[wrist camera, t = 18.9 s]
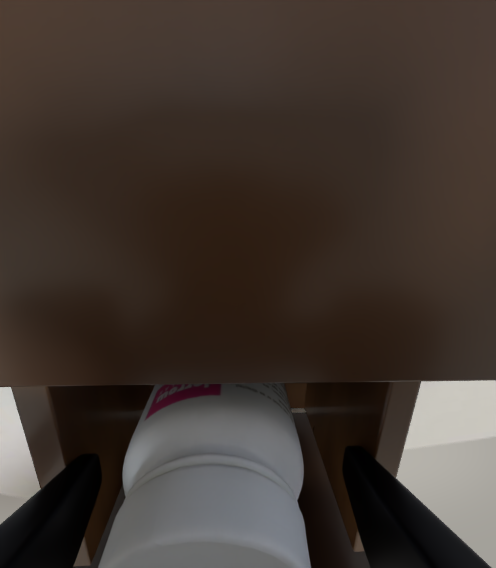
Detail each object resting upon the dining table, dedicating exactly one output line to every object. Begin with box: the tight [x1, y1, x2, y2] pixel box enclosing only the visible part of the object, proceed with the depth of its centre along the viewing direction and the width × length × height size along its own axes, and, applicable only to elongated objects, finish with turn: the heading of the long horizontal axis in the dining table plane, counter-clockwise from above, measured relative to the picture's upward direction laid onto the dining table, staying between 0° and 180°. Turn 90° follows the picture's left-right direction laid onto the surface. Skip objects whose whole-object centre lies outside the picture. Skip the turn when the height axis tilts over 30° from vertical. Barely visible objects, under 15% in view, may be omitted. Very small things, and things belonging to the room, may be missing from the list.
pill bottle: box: [98, 383, 311, 568], centre depth 9 cm, size 5×5×8 cm
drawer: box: [11, 381, 421, 568], centre depth 11 cm, size 17×11×7 cm, turn 179°
